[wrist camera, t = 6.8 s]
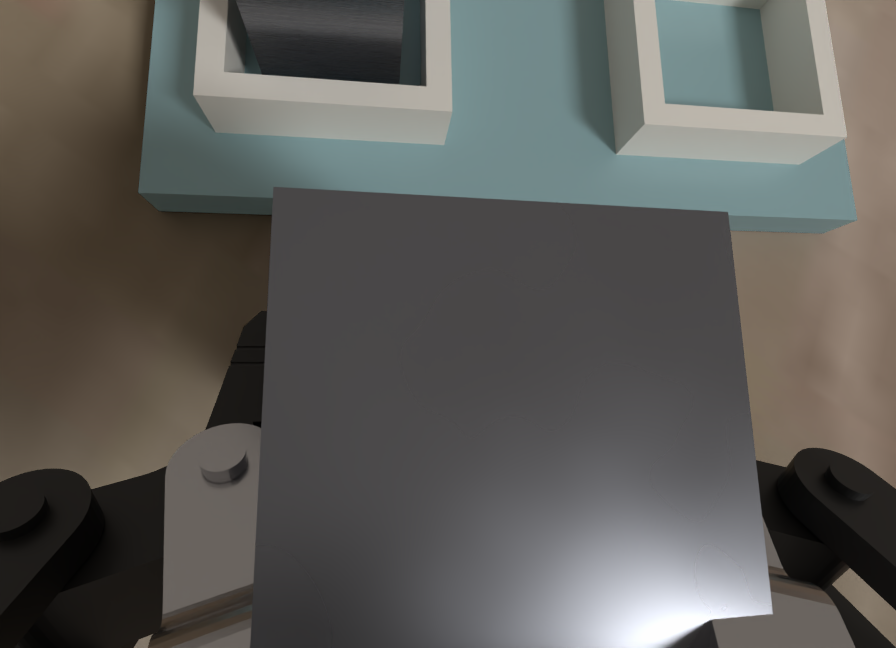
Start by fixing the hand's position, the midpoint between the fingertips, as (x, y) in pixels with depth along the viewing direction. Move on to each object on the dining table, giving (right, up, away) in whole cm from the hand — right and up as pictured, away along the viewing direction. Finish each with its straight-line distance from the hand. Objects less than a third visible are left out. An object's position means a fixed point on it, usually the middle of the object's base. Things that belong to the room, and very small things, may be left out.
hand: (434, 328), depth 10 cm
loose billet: (-1, -3, +4) cm, 5 cm away
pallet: (+3, +10, +9) cm, 14 cm away
